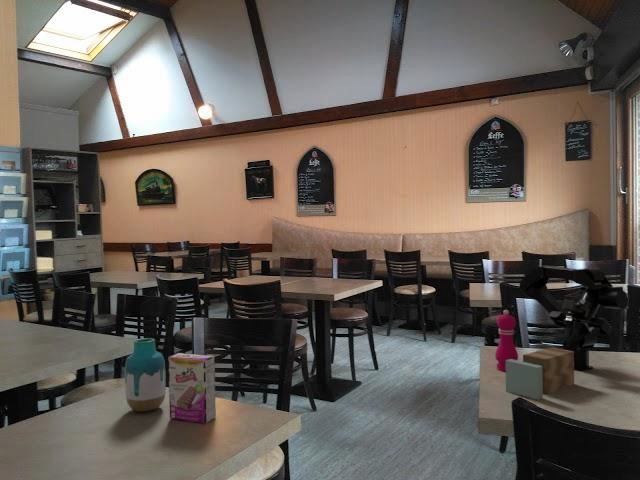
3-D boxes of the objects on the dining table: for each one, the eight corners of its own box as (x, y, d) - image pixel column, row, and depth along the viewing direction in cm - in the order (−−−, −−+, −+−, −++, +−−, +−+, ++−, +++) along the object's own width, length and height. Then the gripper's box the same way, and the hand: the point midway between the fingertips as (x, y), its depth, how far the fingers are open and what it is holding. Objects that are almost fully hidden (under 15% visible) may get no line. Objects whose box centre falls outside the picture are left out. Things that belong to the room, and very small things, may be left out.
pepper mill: (520, 372, 168) (519, 311, 168) (496, 372, 170) (496, 311, 169) (516, 366, 175) (515, 308, 175) (493, 366, 177) (493, 308, 176)
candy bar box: (168, 420, 133) (166, 356, 132) (180, 413, 138) (178, 352, 137) (206, 424, 129) (204, 359, 129) (216, 417, 134) (215, 354, 134)
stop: (511, 389, 152) (510, 358, 152) (542, 398, 144) (542, 366, 143) (505, 391, 150) (505, 360, 150) (537, 400, 142) (537, 367, 142)
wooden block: (552, 379, 161) (552, 347, 161) (574, 384, 156) (573, 351, 155) (523, 388, 153) (523, 354, 153) (545, 394, 147) (544, 359, 147)
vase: (174, 405, 144) (172, 337, 143) (147, 419, 134) (145, 345, 133) (145, 401, 148) (143, 334, 148) (116, 413, 138) (114, 342, 138)
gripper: (551, 286, 172) (529, 324, 167) (604, 292, 155) (582, 334, 151) (567, 306, 176) (547, 344, 171) (621, 314, 159) (600, 356, 155)
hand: (567, 344), depth 162 cm, fingers closed
